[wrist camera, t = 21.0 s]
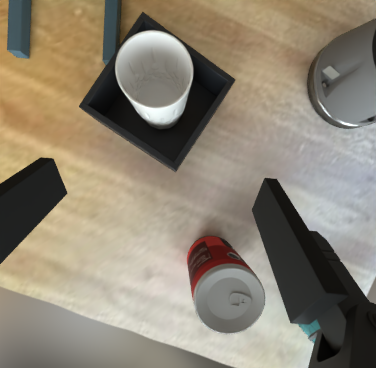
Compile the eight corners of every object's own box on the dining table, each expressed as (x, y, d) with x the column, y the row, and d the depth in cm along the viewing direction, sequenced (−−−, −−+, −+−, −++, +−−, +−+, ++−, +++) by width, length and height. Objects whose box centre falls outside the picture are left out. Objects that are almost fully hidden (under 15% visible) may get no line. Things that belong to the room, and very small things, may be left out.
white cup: (128, 92, 28) (103, 43, 18) (176, 76, 28) (177, 20, 18) (147, 140, 28) (131, 119, 18) (193, 123, 29) (204, 94, 19)
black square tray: (148, 45, 29) (142, 11, 23) (223, 98, 30) (235, 79, 24) (98, 121, 28) (78, 106, 22) (175, 172, 29) (175, 170, 24)
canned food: (236, 274, 31) (270, 327, 20) (190, 283, 30) (199, 343, 19) (229, 230, 30) (261, 259, 19) (183, 238, 30) (188, 273, 19)
